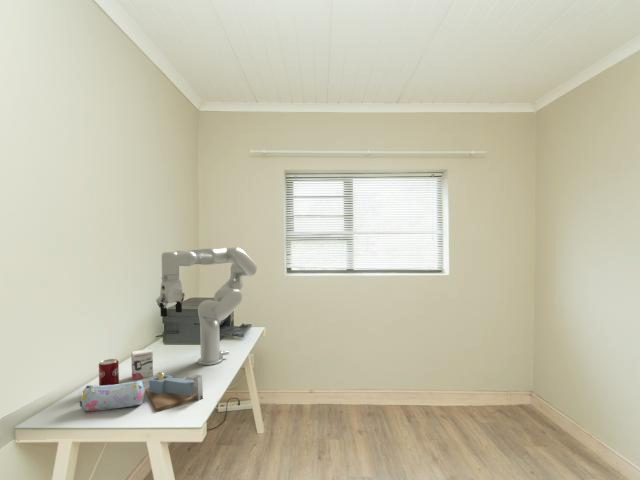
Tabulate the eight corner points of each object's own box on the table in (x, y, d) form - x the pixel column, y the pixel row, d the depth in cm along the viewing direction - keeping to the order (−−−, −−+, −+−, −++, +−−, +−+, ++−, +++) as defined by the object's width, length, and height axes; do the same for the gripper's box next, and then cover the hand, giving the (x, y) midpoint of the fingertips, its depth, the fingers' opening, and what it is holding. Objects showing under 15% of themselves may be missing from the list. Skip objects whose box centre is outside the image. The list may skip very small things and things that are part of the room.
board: (187, 381, 158) (187, 378, 158) (202, 398, 140) (202, 395, 140) (145, 391, 148) (145, 388, 148) (156, 411, 130) (156, 408, 130)
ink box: (132, 380, 160) (132, 354, 160) (131, 376, 164) (131, 351, 164) (153, 375, 165) (152, 350, 165) (151, 372, 169) (151, 348, 169)
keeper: (187, 398, 140) (186, 376, 140) (191, 395, 143) (190, 374, 143) (198, 400, 139) (198, 378, 139) (202, 397, 141) (202, 375, 141)
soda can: (98, 394, 146) (97, 365, 146) (100, 388, 152) (99, 360, 152) (118, 390, 149) (118, 362, 149) (119, 384, 156) (118, 357, 156)
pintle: (163, 391, 148) (163, 371, 148) (164, 393, 146) (164, 373, 146) (158, 392, 146) (157, 373, 146) (159, 394, 145) (158, 374, 145)
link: (149, 392, 144) (149, 380, 144) (161, 385, 150) (160, 374, 150) (187, 398, 138) (187, 385, 138) (198, 391, 144) (198, 379, 144)
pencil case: (78, 415, 129) (78, 389, 129) (89, 404, 137) (89, 380, 137) (140, 410, 132) (139, 384, 132) (147, 399, 141) (146, 375, 141)
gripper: (163, 280, 157) (164, 318, 157) (189, 276, 174) (190, 310, 174) (150, 280, 160) (151, 317, 160) (177, 275, 176) (178, 310, 176)
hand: (171, 314), depth 167 cm, fingers open, 9 cm apart
